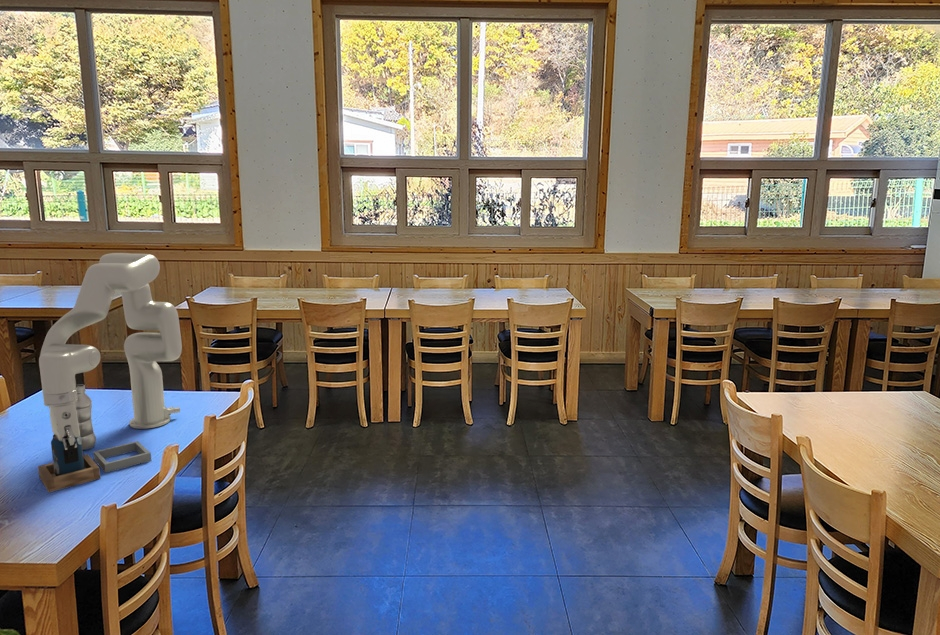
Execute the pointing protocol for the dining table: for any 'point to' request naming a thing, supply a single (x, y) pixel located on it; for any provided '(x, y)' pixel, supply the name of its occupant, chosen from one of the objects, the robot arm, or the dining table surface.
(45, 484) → the walnut holder
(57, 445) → the soda can
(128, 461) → the grey square frame
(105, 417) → the dining table surface
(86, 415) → the pale grey bottle
